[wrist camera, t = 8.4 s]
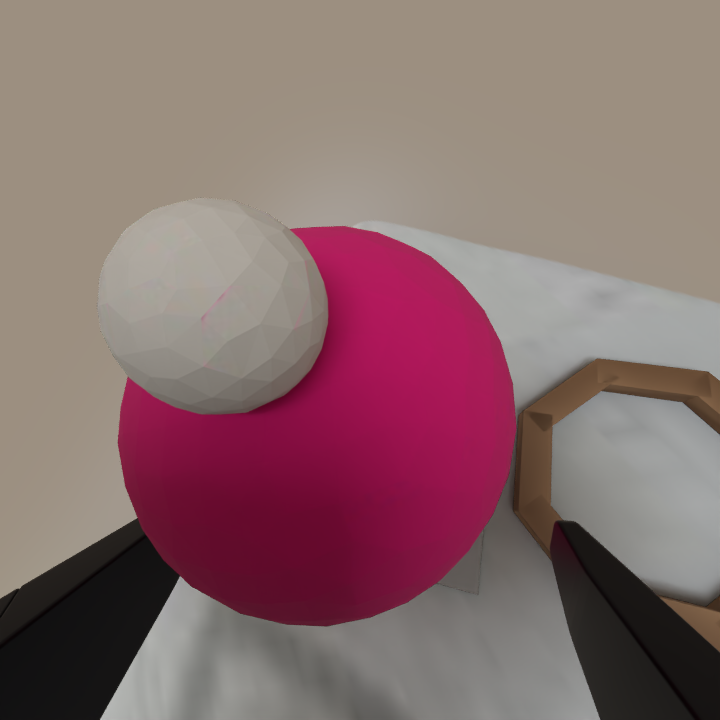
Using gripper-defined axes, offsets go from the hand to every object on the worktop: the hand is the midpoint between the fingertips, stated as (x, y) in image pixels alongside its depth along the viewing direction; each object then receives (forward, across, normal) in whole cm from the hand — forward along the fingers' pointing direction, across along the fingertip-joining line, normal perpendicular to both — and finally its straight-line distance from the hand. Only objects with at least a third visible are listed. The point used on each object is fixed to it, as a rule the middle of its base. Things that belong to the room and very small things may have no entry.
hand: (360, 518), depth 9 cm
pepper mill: (+10, 0, +7) cm, 12 cm away
